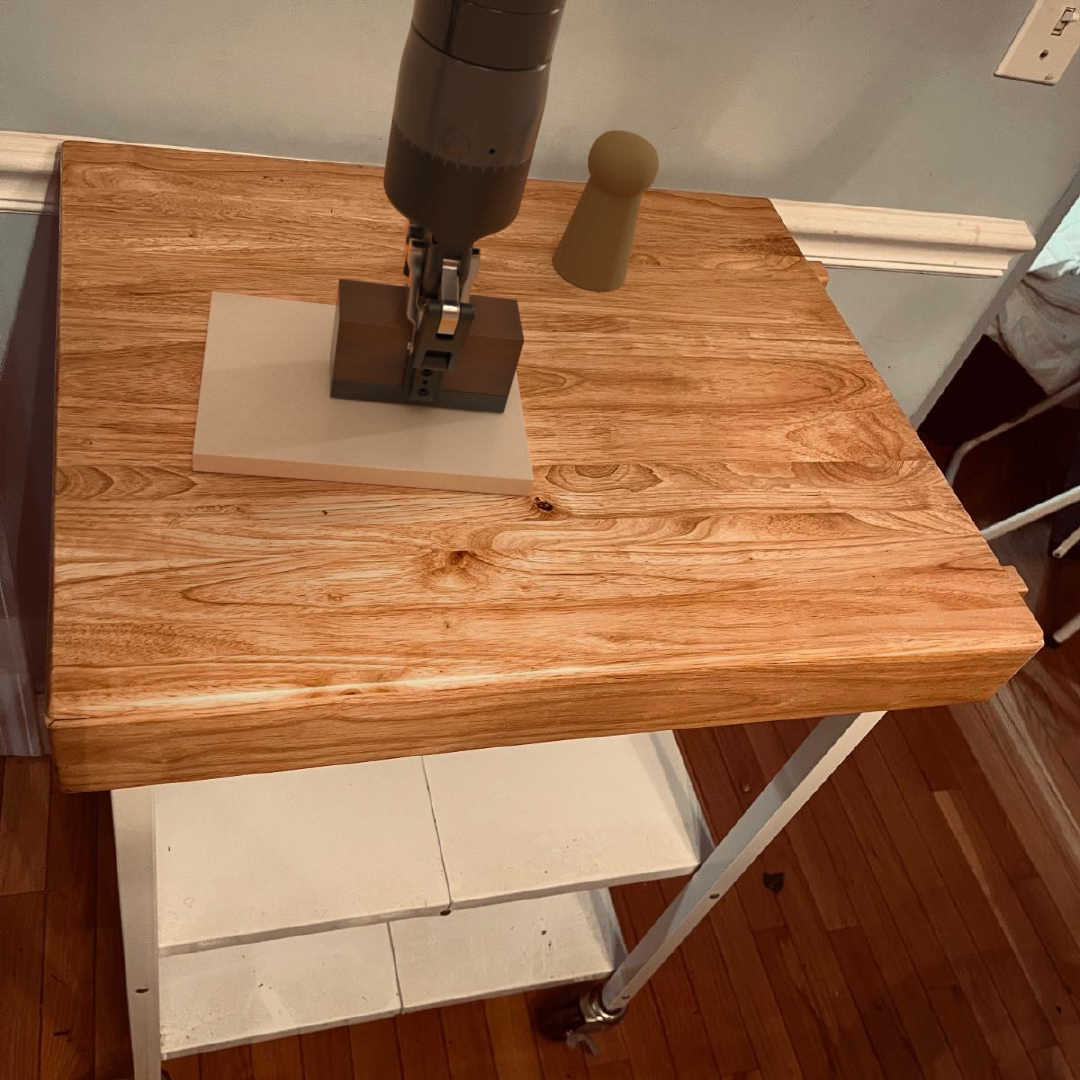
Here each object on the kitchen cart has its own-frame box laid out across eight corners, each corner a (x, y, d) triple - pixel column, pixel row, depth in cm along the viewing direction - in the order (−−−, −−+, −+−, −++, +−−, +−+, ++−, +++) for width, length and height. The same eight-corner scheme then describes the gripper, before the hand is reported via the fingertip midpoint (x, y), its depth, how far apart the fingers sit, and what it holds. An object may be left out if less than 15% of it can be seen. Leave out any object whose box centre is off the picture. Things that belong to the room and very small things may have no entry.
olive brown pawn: (614, 248, 88) (657, 123, 80) (634, 294, 84) (680, 168, 76) (544, 242, 86) (581, 114, 78) (562, 289, 82) (602, 159, 74)
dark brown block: (329, 397, 66) (339, 320, 61) (329, 355, 68) (338, 278, 64) (503, 413, 68) (524, 340, 64) (497, 372, 71) (517, 299, 67)
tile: (192, 471, 61) (192, 452, 60) (211, 308, 71) (211, 290, 70) (528, 496, 67) (534, 480, 65) (504, 341, 76) (509, 325, 75)
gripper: (554, 209, 52) (484, 458, 64) (521, 68, 61) (465, 310, 73) (399, 186, 50) (358, 448, 62) (388, 44, 59) (355, 297, 71)
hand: (416, 372), depth 68 cm, fingers closed on dark brown block, 4 cm apart
